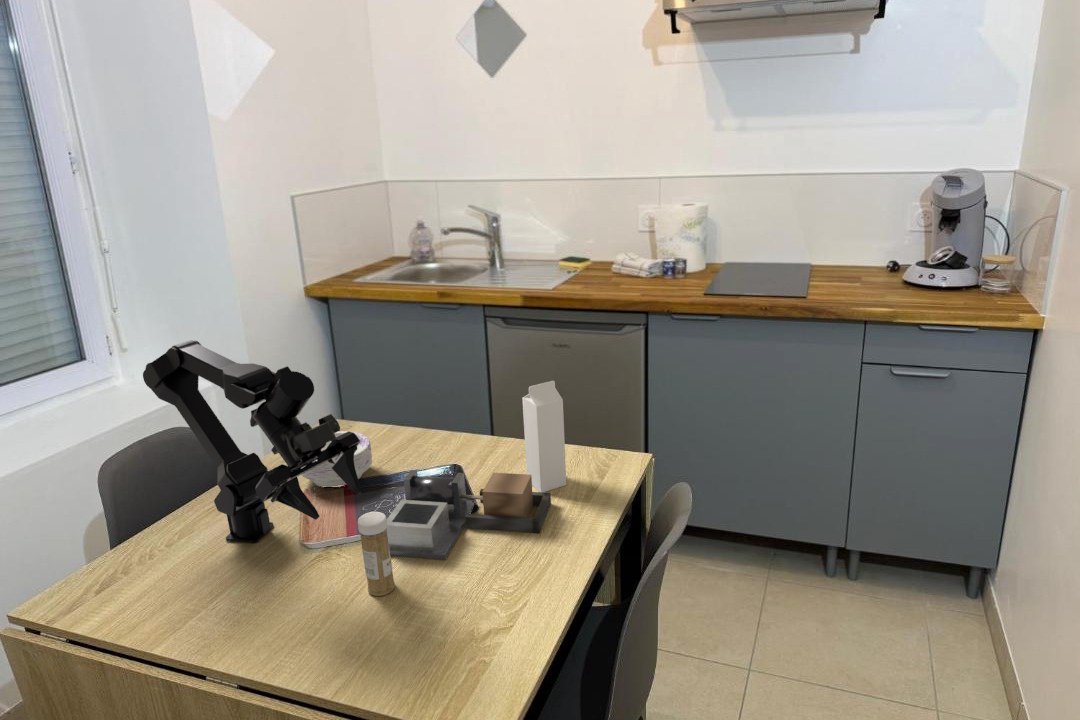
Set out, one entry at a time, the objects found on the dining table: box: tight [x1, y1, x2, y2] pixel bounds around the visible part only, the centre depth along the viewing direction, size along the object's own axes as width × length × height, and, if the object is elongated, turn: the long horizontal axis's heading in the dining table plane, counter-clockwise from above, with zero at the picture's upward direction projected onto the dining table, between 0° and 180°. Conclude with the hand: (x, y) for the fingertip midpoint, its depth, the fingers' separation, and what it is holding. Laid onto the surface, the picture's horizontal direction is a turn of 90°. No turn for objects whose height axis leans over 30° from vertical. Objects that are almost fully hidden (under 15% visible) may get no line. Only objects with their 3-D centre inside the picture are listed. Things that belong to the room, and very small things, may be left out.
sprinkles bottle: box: [357, 511, 396, 597], centre depth 128 cm, size 5×5×14 cm
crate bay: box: [465, 472, 552, 534], centre depth 150 cm, size 14×11×7 cm
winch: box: [386, 469, 483, 561], centre depth 146 cm, size 19×19×8 cm
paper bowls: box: [300, 430, 373, 487], centre depth 168 cm, size 15×15×8 cm
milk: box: [521, 380, 567, 493], centre depth 159 cm, size 6×6×22 cm
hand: (339, 505), depth 130 cm, fingers open, 9 cm apart
